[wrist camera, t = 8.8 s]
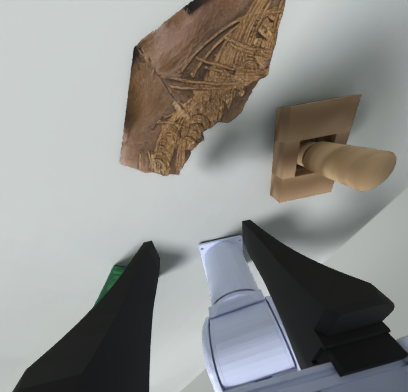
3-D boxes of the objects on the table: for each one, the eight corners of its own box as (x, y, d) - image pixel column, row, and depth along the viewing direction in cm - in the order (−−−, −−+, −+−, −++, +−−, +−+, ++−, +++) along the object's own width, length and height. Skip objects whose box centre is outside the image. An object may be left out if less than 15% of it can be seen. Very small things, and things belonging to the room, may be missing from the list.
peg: (308, 162, 21) (383, 188, 14) (285, 166, 21) (348, 194, 13) (315, 136, 20) (404, 148, 12) (290, 140, 19) (364, 154, 12)
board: (317, 185, 24) (331, 191, 21) (270, 194, 23) (279, 202, 21) (339, 97, 18) (361, 94, 16) (277, 108, 17) (291, 106, 15)
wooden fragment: (159, 192, 21) (158, 195, 20) (79, 131, 16) (73, 131, 15) (324, 26, 15) (333, 20, 14) (273, -145, 10) (282, -172, 9)
